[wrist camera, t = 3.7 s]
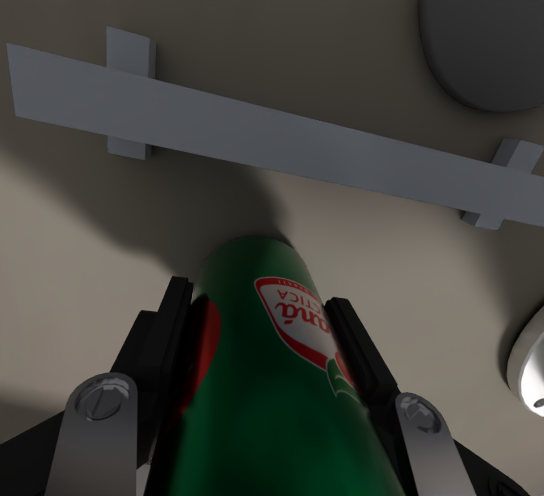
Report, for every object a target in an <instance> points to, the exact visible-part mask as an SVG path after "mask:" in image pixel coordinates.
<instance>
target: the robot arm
mask: <svg viewBox="0 0 544 496" xmlns="http://www.w3.org/2000/svg"><path fill="white" fill-rule="evenodd" d="M193 284H194V283H191V282H188V278H184V277H177V276H172V278H171V280H170V283H169V285H168V287H167V290H166V292H165V295H164V297H163V300H162V302H161V305H160V307H159V309H158V312H154V311H145V310H141V311H140V313H139V314H138V316H137V318H136V320H135V322H134V324H133V326H132V328H131V330H130V332H129V334H128V336H127V338H126V340H125V342H124V344H123V346H122V348H121V350H120V352H119V354H118V356H117V358H116V360H115V362H114V364H113V366H112V368H111V370H110V372H109V373H103V374H99V375H96V376H94V377H91V378H89V379H87V380H85V381H84V382H83V383H81V384H80V385H79V386H77V387H76V389H75V390H74V391H73V392H72V393H71V395H70V397H69V399H68V401H67V404H66V408H65V410H64V411H62V412H61V413H59V414H57V415H55V416H53V417H51V418H49V419H47V420H46V421H44V422H42V423H40V424H38V425H36V426H34V427H33V428H31V429H29V430H27V431H25V432H23V433H21V434H20V435H18V436H16V437H14V438H12V439H10V440H8V441H6V442H5V443H3V444H1V445H0V496H136V472H137V469H139V468H140V467H141V466H142V465H144V464H145V463H146V462H147V461H148V459H149V456H153V453H154V449H155V445H156V442H157V438H158V434H159V430H160V426H161V422H162V418H163V414H164V410H165V406H166V402H167V398H168V394H169V390H170V386H171V382H172V378H173V374H174V370H175V366H176V362H177V358H178V354H179V350H180V346H181V342H182V338H183V334H184V330H185V326H186V322H187V318H188V314H189V310H190V306H191V300H192V292H193ZM324 307H325V310H326V312H327V314H328V316H329V319H330V321H331V323H332V326H333V328H334V330H335V332H336V335H337V337H338V339H339V341H340V344H341V346H342V348H343V351H344V353H345V355H346V357H347V360H348V362H349V364H350V366H351V369H352V371H353V373H354V376H355V378H356V380H357V382H358V385H359V387H360V389H361V391H362V394H363V396H364V398H365V401H366V403H367V405H368V407H369V410H370V412H371V414H372V416H373V419H374V421H375V423H376V426H377V428H378V430H379V432H380V435H381V437H382V439H383V441H384V444H385V446H386V448H387V450H388V453H389V455H390V457H391V460H392V462H393V464H394V466H395V469H396V471H397V473H398V475H399V478H400V480H401V482H402V485H403V487H404V489H405V491H406V494H407V496H530V495H529V494H528V493H527V492H526V491H525V490H524V489H523V488H522V487H521V486H520V485H518V484H517V483H516V482H515V481H513V480H512V479H511V478H509V477H508V476H506V475H505V474H503V473H502V472H501V471H499V470H498V469H496V468H495V467H493V466H492V465H490V464H489V463H488V462H486V461H485V460H483V459H482V458H480V457H479V456H477V455H476V454H475V453H473V452H472V451H470V450H469V449H467V448H466V447H464V446H463V445H462V444H460V443H459V442H457V441H456V440H454V439H453V438H452V436H451V434H450V431H449V429H448V426H447V424H446V422H445V420H444V418H443V416H442V415H441V413H440V412H439V411H438V410H437V409H436V407H434V406H433V405H432V404H431V403H430V402H429V401H427V400H425V399H424V398H422V397H421V396H418V395H416V394H413V393H408V392H406V393H401V392H400V390H399V389H398V387H397V385H398V384H397V383H396V381H395V379H394V377H393V376H392V374H391V372H390V371H389V369H388V367H387V365H386V364H385V362H384V360H383V359H382V357H381V355H380V353H379V352H378V350H377V348H376V347H375V345H374V343H373V341H372V340H371V338H370V336H369V335H368V333H367V331H366V329H365V328H364V326H363V324H362V323H361V321H360V319H359V317H358V316H357V314H356V312H355V310H354V309H353V307H352V305H351V304H350V302H349V300H348V299H344V298H337V297H333V298H331V300H327V302H326V304H325V306H324ZM507 379H508V384H509V387H510V389H511V391H512V392H513V394H514V395H515V396H516V397H517V398H518V400H519V401H520V402H521V403H522V404H523V405H524V406H525V407H526V408H527V409H528V410H530V411H532V412H533V413H535V414H537V415H539V416H542V417H544V306H543V307H542V308H541V309H540V310H539V311H538V312H537V313H536V314H535V315H534V316H533V317H532V319H531V320H530V321H529V323H528V324H527V325H526V326H525V328H524V329H523V330H522V332H521V334H520V335H519V337H518V339H517V341H516V342H515V344H514V346H513V348H512V351H511V354H510V357H509V360H508V367H507Z"/></svg>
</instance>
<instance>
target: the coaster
mask: <svg viewBox="0 0 544 496" xmlns="http://www.w3.org/2000/svg"><path fill="white" fill-rule="evenodd" d="M418 10H419V27H420V36H421V41H422V45H423V49H424V53H425V56H426V59H427V61H428V64H429V66H430V69H431V70H432V72H433V74H434V76H435V78H436V79H437V81H438V82H439V83H440V85H441V86H442V87H443V88H444V90H445V91H446V92H448V93H449V94H450V95H451V96H452V97H453V98H454V99H456V100H458V101H459V102H461V103H462V104H464V105H467V106H469V107H472V108H474V109H478V110H483V111H498V112H503V111H520V110H527V109H530V108H534V107H538V106H541V105H543V104H544V0H418Z"/></svg>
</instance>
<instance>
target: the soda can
mask: <svg viewBox="0 0 544 496" xmlns="http://www.w3.org/2000/svg"><path fill="white" fill-rule="evenodd" d="M143 496H407V494H406V491H405V489H404V487H403V485H402V482H401V480H400V478H399V475H398V473H397V471H396V469H395V466H394V464H393V462H392V460H391V457H390V455H389V453H388V450H387V448H386V446H385V444H384V441H383V439H382V437H381V435H380V432H379V430H378V428H377V426H376V423H375V421H374V419H373V416H372V414H371V412H370V410H369V407H368V405H367V403H366V401H365V398H364V396H363V394H362V391H361V389H360V387H359V385H358V382H357V380H356V378H355V376H354V373H353V371H352V369H351V366H350V364H349V362H348V360H347V357H346V355H345V353H344V351H343V348H342V346H341V344H340V341H339V339H338V337H337V335H336V332H335V330H334V328H333V326H332V323H331V321H330V319H329V316H328V314H327V312H326V310H325V307H324V305H323V303H322V301H321V298H320V296H319V294H318V291H317V289H316V287H315V285H314V282H313V280H312V278H311V276H310V273H309V271H308V269H307V266H306V265H305V263H304V261H303V259H302V258H301V257H300V256H299V254H298V253H297V252H296V251H295V250H293V249H292V248H291V247H290V246H288V245H286V244H285V243H283V242H280V241H278V240H275V239H272V238H267V237H259V236H252V237H243V238H239V239H235V240H233V241H230V242H227V243H226V244H224V245H222V246H220V247H219V248H217V249H216V250H215V251H214V252H212V253H211V254H210V256H209V257H208V258H207V259H206V260H205V262H204V263H203V265H202V267H201V269H200V271H199V274H198V278H197V282H196V286H195V290H194V294H193V298H192V302H191V306H190V310H189V314H188V318H187V322H186V326H185V330H184V334H183V338H182V342H181V346H180V350H179V354H178V358H177V362H176V366H175V370H174V374H173V378H172V382H171V386H170V390H169V394H168V398H167V402H166V406H165V410H164V414H163V418H162V422H161V426H160V430H159V434H158V438H157V442H156V446H155V450H154V454H153V458H152V462H151V466H150V470H149V474H148V478H147V482H146V486H145V490H144V494H143Z"/></svg>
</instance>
